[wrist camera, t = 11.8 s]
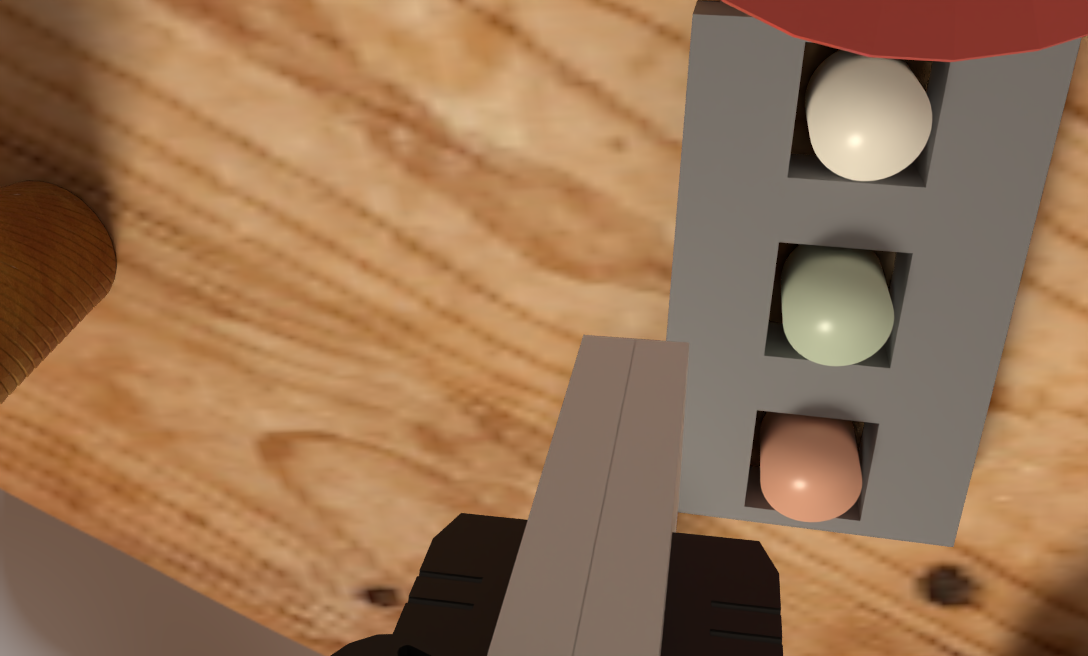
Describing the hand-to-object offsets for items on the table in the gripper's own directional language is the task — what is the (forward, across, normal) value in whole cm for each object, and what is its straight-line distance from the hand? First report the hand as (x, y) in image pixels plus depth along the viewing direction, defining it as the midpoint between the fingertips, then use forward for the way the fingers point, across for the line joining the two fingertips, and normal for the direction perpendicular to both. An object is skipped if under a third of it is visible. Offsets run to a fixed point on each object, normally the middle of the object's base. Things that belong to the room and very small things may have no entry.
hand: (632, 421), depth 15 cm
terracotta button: (+24, +5, -15) cm, 29 cm away
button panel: (+25, +6, -8) cm, 27 cm away
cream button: (+24, +6, -1) cm, 25 cm away
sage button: (+24, +6, -8) cm, 26 cm away
